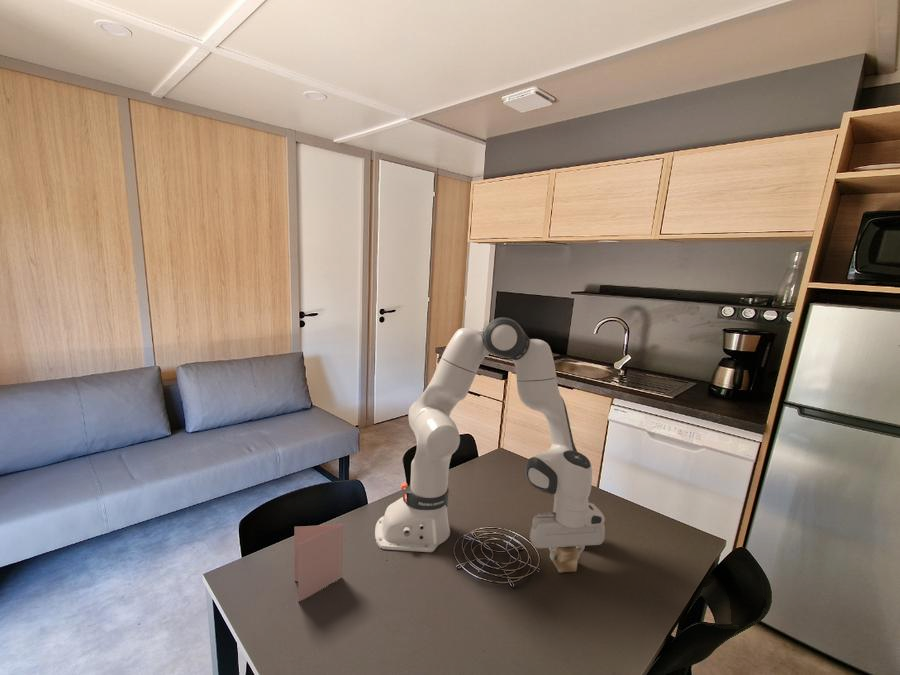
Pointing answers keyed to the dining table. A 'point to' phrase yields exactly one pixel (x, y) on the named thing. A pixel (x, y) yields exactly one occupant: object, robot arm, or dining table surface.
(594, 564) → the dining table surface
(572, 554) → the oak block
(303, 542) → the greeting card
